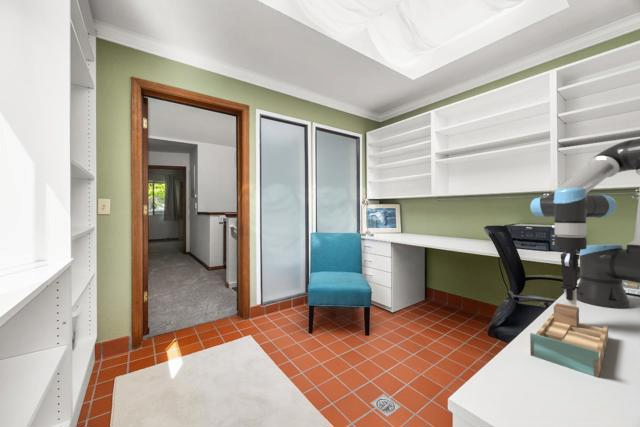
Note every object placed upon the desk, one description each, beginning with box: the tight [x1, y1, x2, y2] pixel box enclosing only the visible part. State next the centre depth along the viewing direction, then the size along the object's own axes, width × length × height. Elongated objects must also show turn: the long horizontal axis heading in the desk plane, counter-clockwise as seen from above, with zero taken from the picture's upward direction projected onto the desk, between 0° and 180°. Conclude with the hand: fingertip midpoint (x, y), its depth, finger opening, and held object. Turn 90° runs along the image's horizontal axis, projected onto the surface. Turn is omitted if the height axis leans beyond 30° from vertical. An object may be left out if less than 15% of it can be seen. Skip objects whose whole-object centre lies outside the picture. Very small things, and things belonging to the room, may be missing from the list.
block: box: [553, 302, 580, 327], centre depth 80 cm, size 5×5×4 cm
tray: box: [529, 313, 609, 378], centre depth 71 cm, size 27×12×6 cm, turn 129°
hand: (570, 309), depth 85 cm, fingers closed
